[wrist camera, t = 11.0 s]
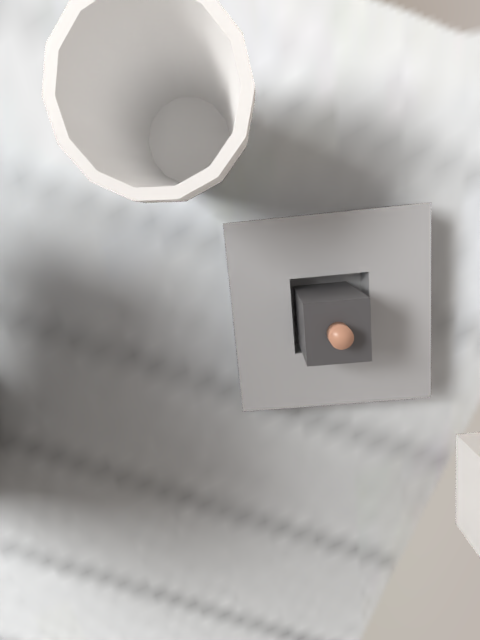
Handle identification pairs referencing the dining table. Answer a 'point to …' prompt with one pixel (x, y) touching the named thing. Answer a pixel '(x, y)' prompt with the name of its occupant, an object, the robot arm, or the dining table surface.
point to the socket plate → (326, 267)
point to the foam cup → (149, 94)
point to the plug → (333, 323)
